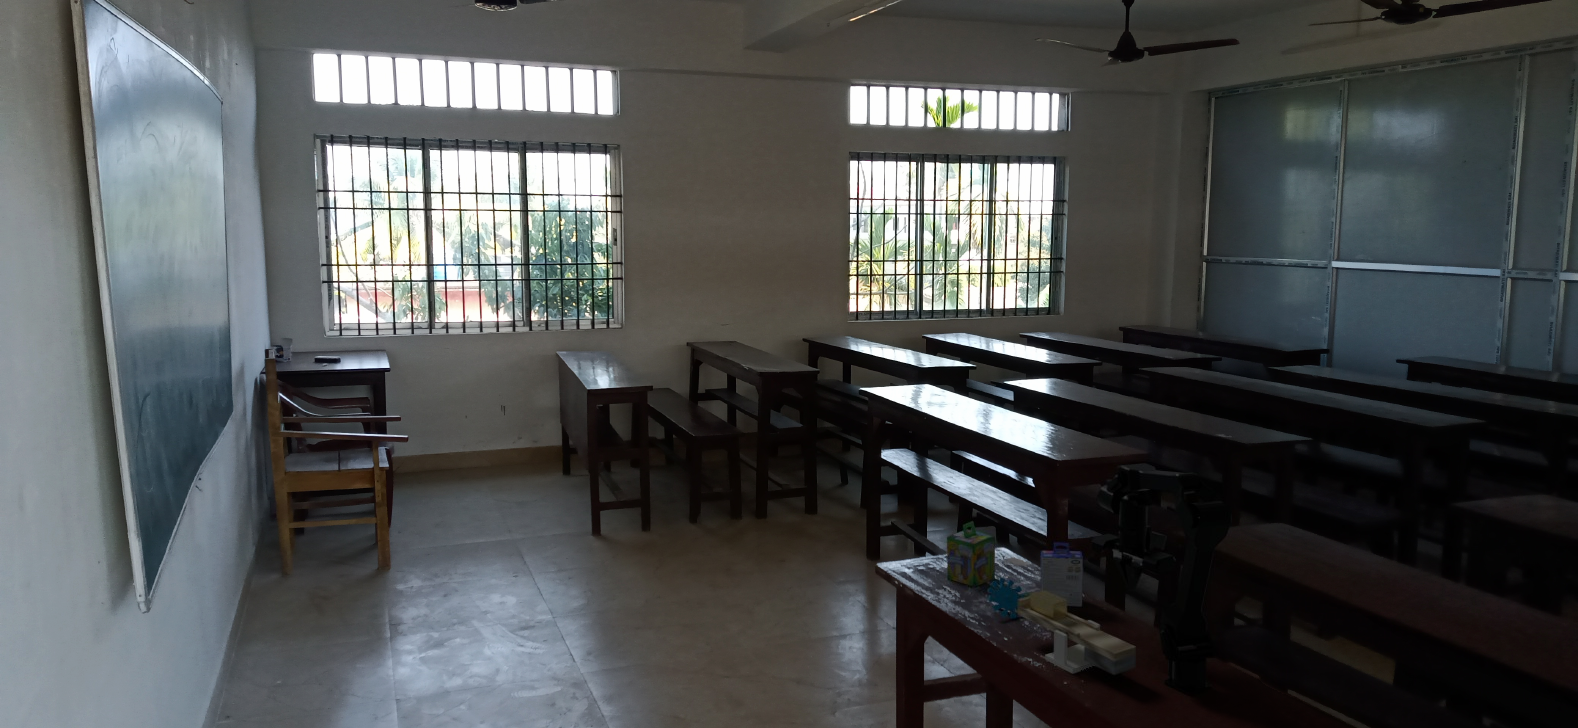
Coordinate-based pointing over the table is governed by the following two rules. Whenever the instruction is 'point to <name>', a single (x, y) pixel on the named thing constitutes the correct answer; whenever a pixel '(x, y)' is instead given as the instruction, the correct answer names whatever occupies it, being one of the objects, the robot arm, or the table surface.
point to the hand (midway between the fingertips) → (1131, 590)
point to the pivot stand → (1068, 654)
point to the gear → (1005, 597)
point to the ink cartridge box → (1063, 573)
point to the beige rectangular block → (1048, 605)
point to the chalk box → (970, 556)
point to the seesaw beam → (1087, 639)
